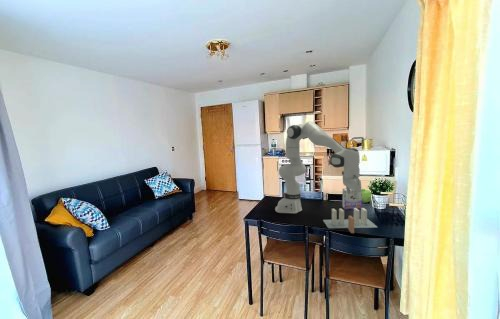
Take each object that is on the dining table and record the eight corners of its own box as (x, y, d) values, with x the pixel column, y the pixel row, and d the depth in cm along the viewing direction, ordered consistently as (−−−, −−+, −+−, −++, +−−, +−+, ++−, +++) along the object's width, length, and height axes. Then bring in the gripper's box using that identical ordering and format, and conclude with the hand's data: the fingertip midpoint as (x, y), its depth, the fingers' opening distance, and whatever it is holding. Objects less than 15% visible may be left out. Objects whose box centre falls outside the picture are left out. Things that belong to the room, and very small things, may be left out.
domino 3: (351, 233, 140) (351, 218, 139) (348, 230, 145) (348, 215, 144) (354, 233, 140) (354, 218, 138) (351, 230, 145) (351, 215, 143)
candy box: (359, 206, 186) (359, 187, 184) (362, 209, 180) (362, 189, 178) (342, 207, 187) (342, 188, 185) (344, 209, 182) (344, 189, 179)
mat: (328, 228, 148) (328, 228, 148) (322, 220, 162) (322, 219, 162) (377, 228, 146) (377, 227, 146) (367, 219, 160) (368, 218, 160)
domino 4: (356, 224, 151) (356, 210, 150) (353, 221, 156) (353, 208, 155) (359, 224, 151) (359, 210, 150) (356, 221, 156) (356, 208, 155)
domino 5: (364, 224, 151) (364, 210, 150) (360, 221, 156) (361, 207, 155) (366, 224, 151) (367, 210, 149) (363, 221, 156) (363, 207, 154)
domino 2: (341, 225, 152) (341, 211, 151) (338, 222, 157) (339, 208, 156) (344, 225, 152) (344, 211, 150) (341, 222, 157) (341, 208, 155)
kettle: (374, 204, 190) (375, 191, 189) (356, 203, 193) (357, 191, 192) (369, 198, 204) (370, 187, 203) (353, 198, 208) (353, 186, 206)
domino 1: (333, 225, 152) (334, 211, 151) (331, 222, 157) (331, 208, 156) (336, 225, 152) (336, 211, 151) (334, 222, 157) (334, 208, 156)
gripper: (364, 177, 127) (364, 200, 129) (350, 170, 148) (350, 191, 149) (353, 177, 128) (353, 200, 130) (340, 171, 148) (340, 191, 150)
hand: (351, 195), depth 140 cm, fingers open, 8 cm apart
